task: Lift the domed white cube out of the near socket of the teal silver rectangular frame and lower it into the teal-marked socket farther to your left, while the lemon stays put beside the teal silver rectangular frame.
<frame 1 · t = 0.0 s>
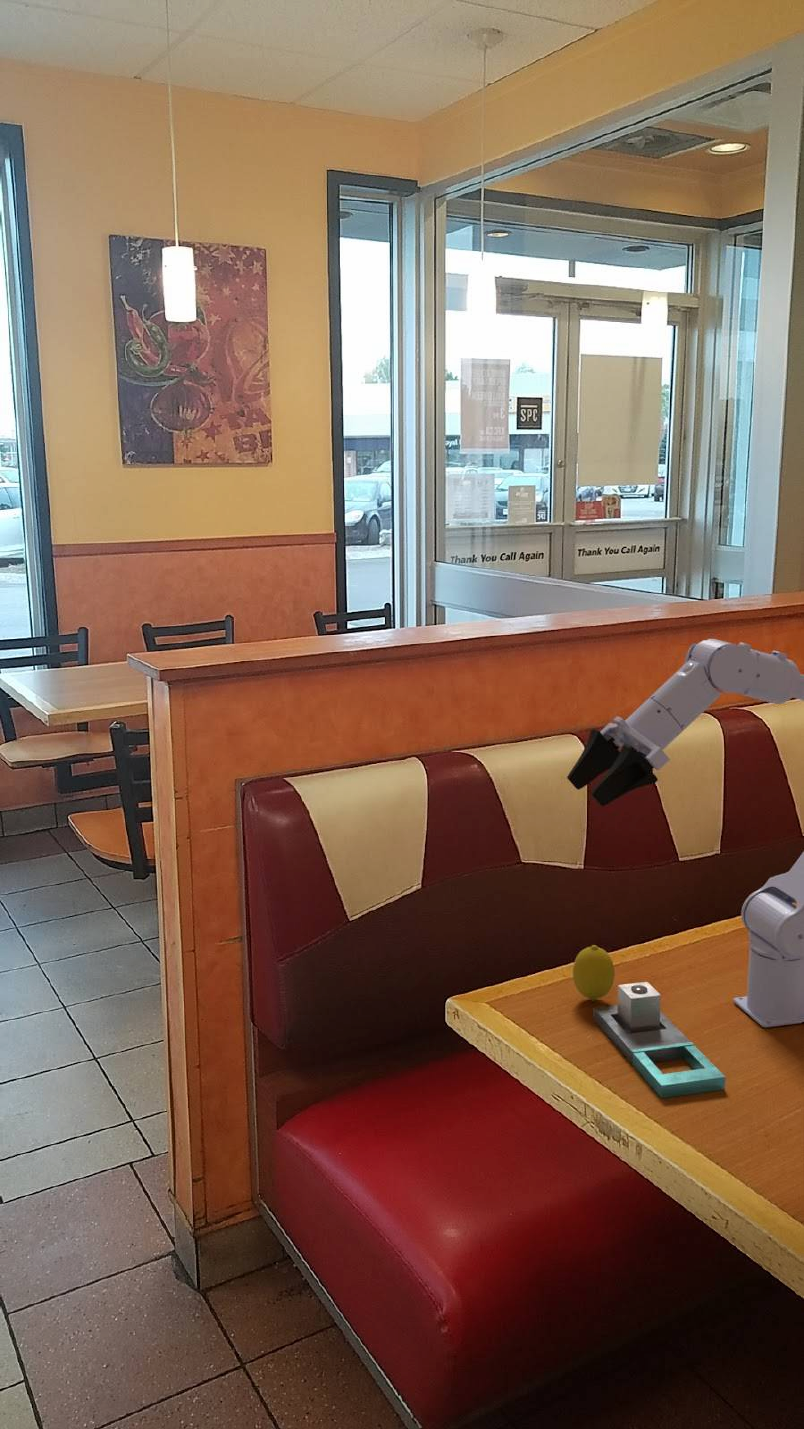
hand: (584, 791, 137), 32 cm above the table, tool tilted 50°, fingers open, 7 cm apart
teal silver rectangular frame: (654, 1051, 139), on the table
lemon: (592, 1002, 153), on the table
domed white cube: (637, 1033, 144), resting in teal silver rectangular frame
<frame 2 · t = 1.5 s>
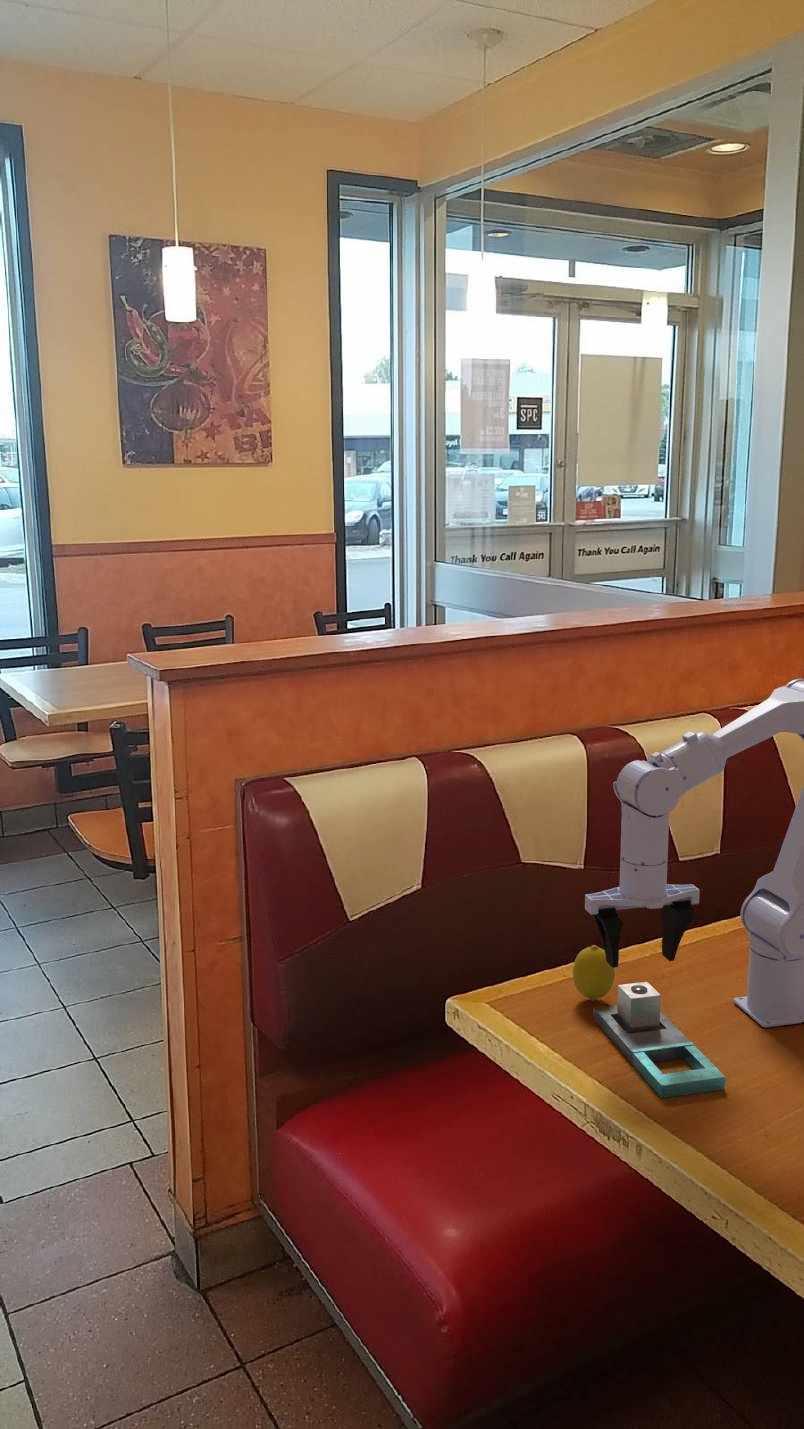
hand: (640, 961, 142), 10 cm above the table, tool pointing down, fingers open, 7 cm apart
nothing on the table moved.
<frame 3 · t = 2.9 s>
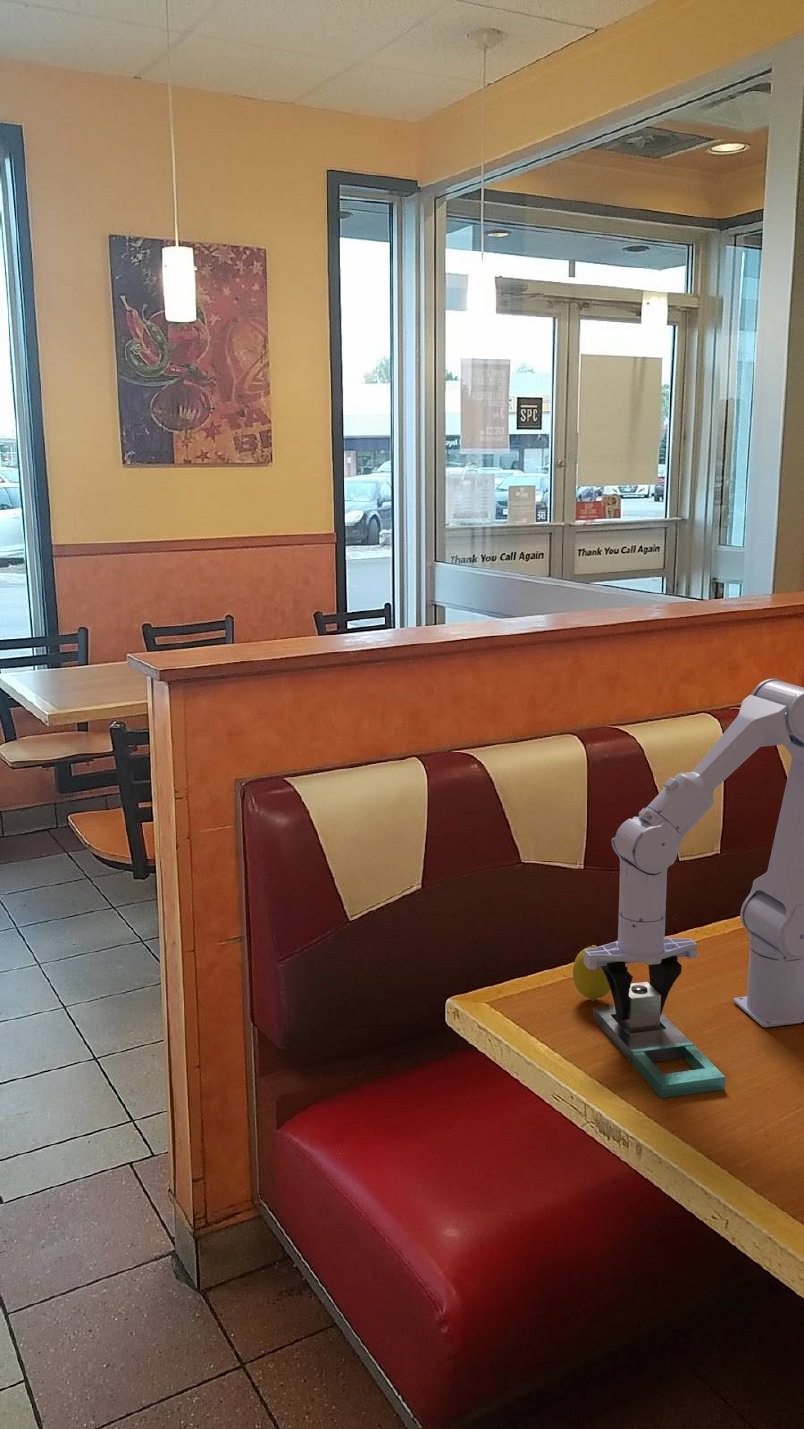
hand: (638, 1014, 144), 3 cm above the table, tool pointing down, fingers closed on domed white cube, 4 cm apart
domed white cube: (637, 1033, 144), resting in teal silver rectangular frame, touching gripper
everything else where it was.
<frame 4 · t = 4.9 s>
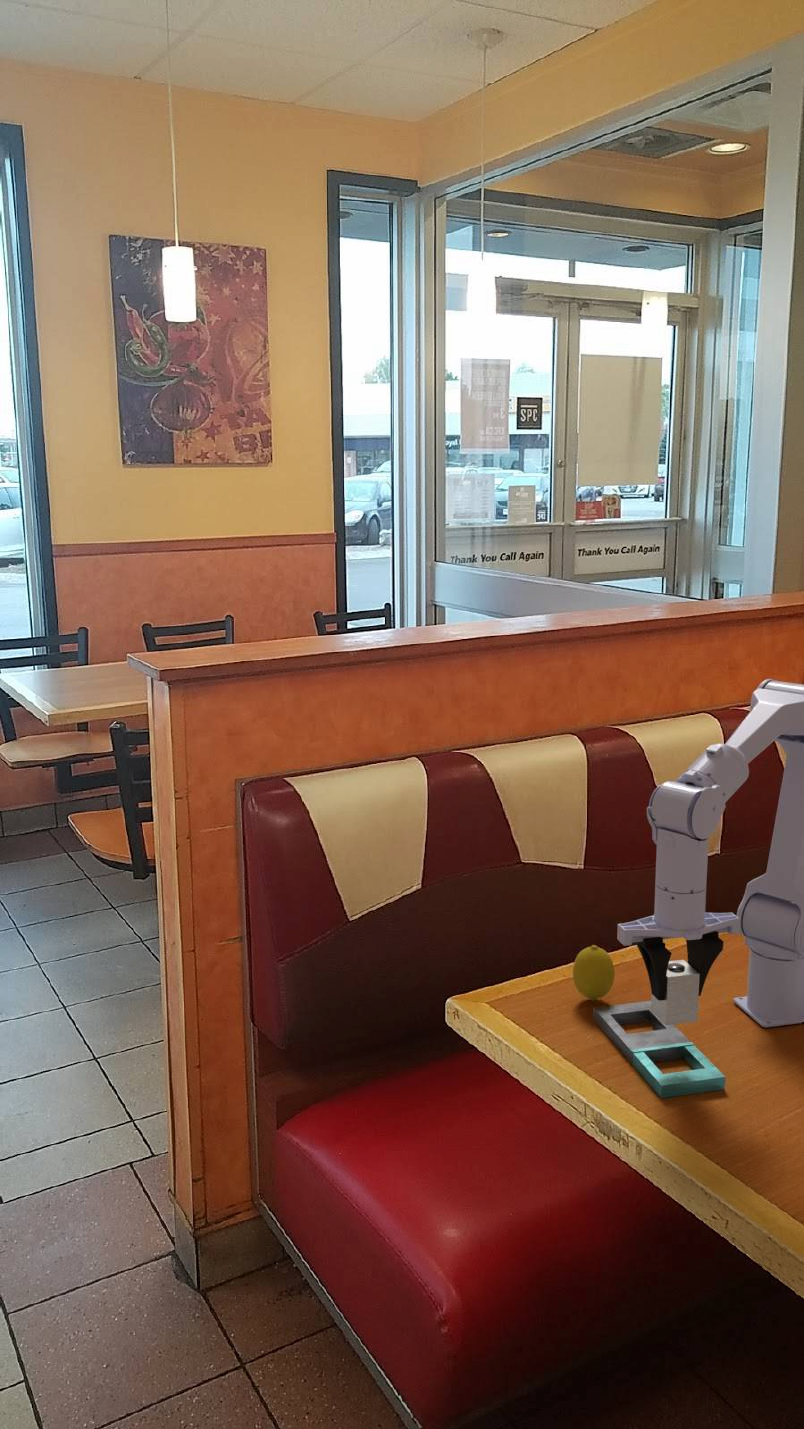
hand: (676, 994, 133), 10 cm above the table, tool pointing down, fingers closed on domed white cube, 4 cm apart
domed white cube: (673, 1015, 134), point 7 cm above the table, touching gripper
everything else where it was.
when the fingers open (4 cm above the table, at t = 6.9 s): domed white cube stays where it is, resting in teal silver rectangular frame.
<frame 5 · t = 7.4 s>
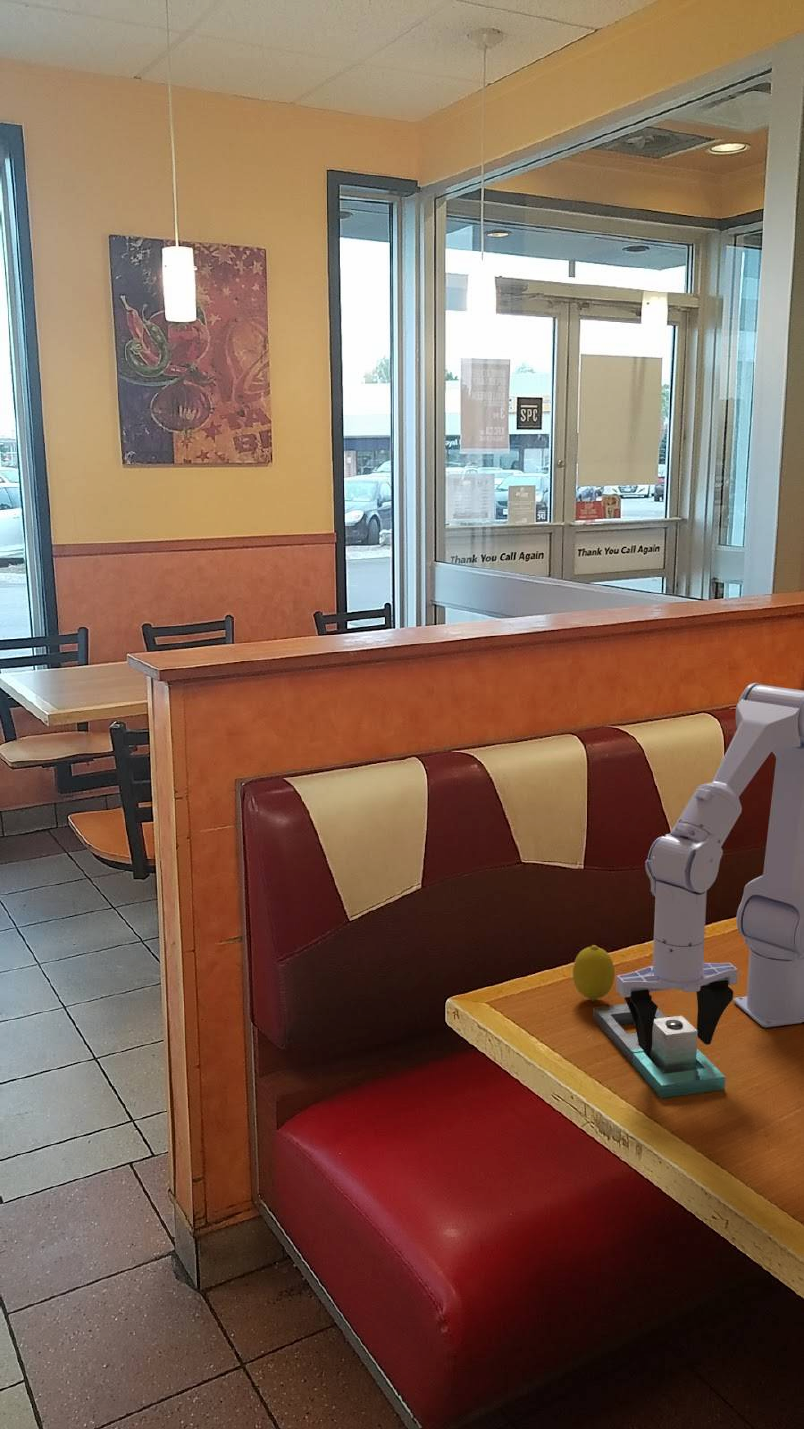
hand: (674, 1044, 134), 4 cm above the table, tool pointing down, fingers open, 7 cm apart
domed white cube: (672, 1071, 135), resting in teal silver rectangular frame
everything else where it was.
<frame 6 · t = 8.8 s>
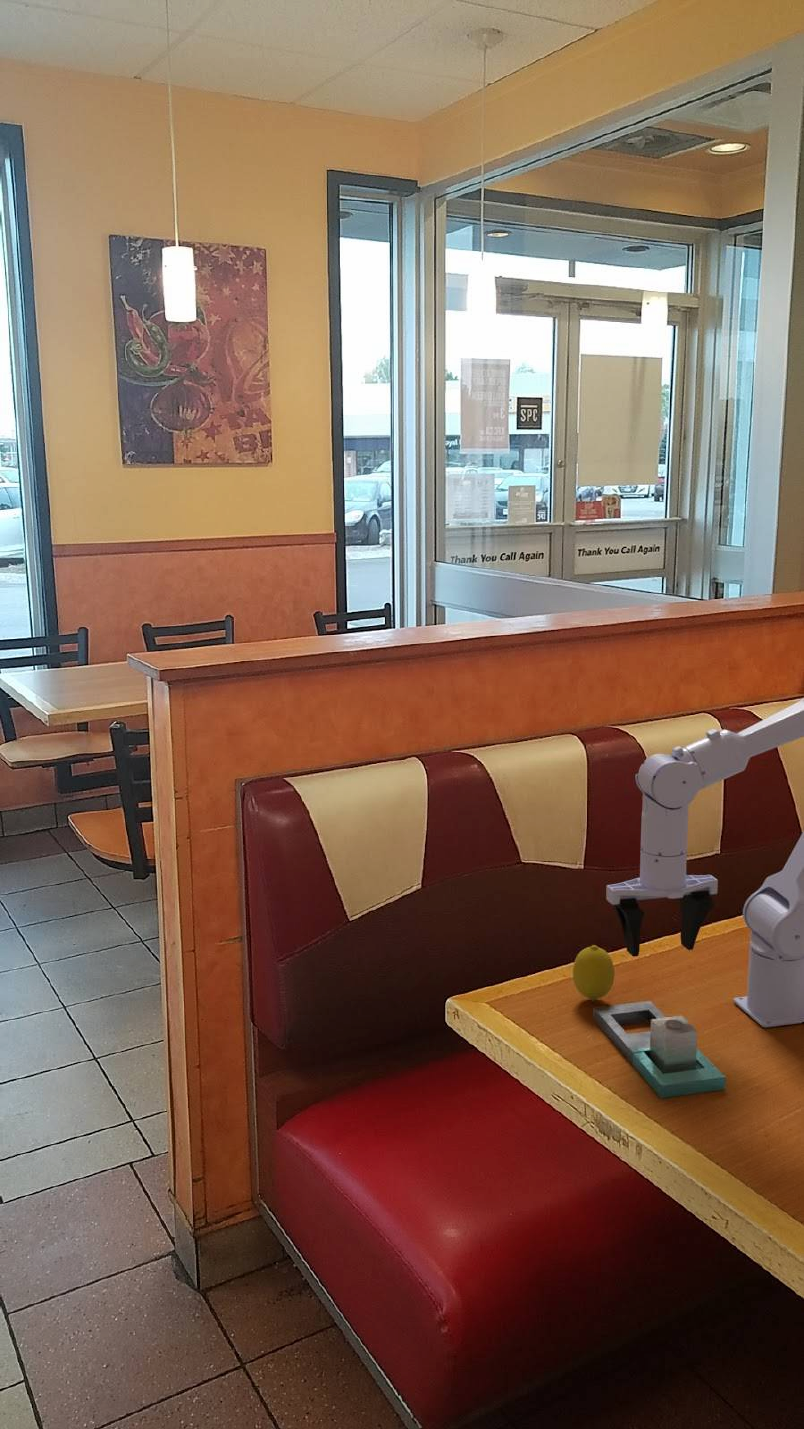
hand: (660, 950, 145), 10 cm above the table, tool pointing down, fingers open, 7 cm apart
nothing on the table moved.
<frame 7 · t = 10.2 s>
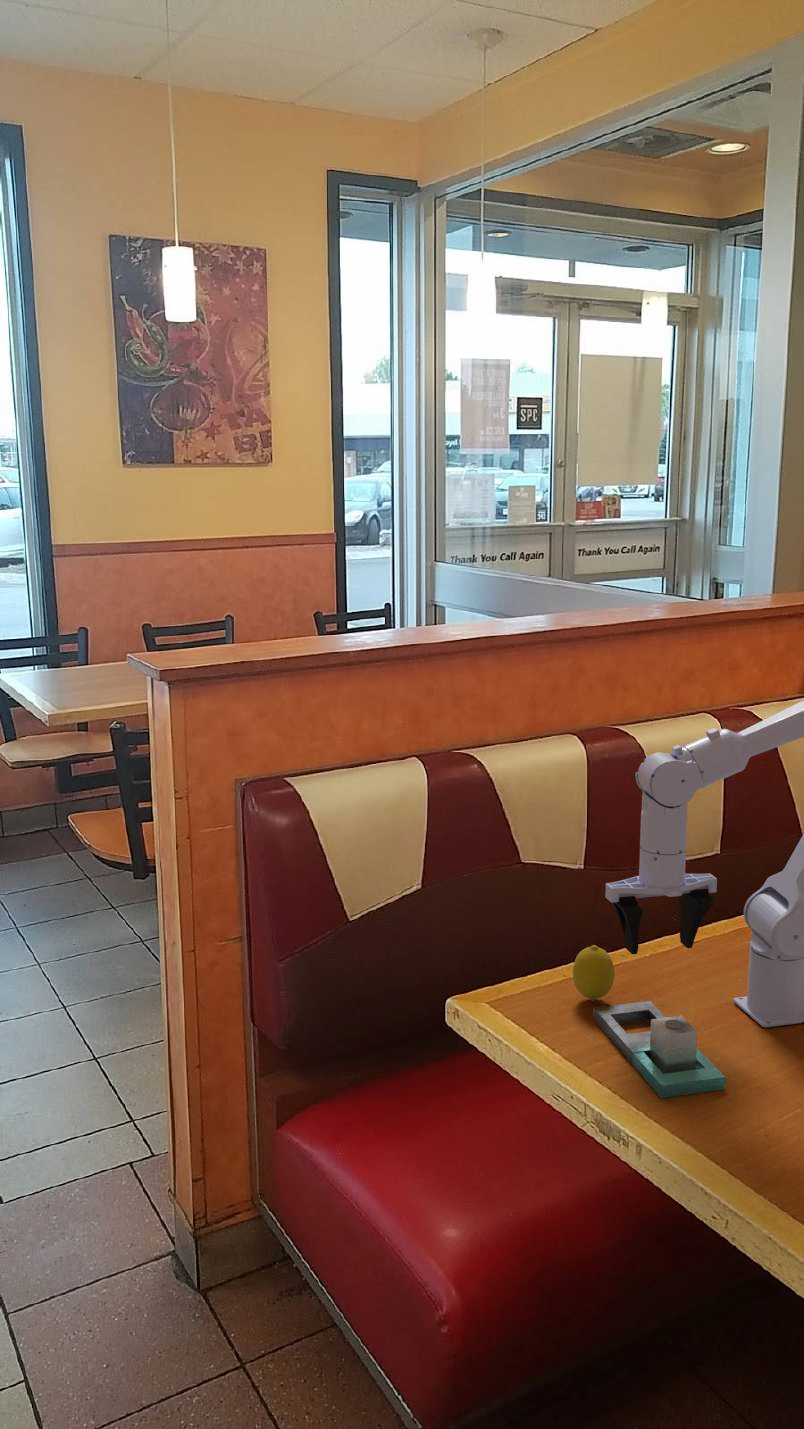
hand: (659, 948, 146), 10 cm above the table, tool pointing down, fingers open, 7 cm apart
nothing on the table moved.
at the end: domed white cube 0.3 cm from the target spot on the teal silver rectangular frame, point 0.0 cm above the teal silver rectangular frame's base; domed white cube tilted 0°; the gripper is holding nothing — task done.
